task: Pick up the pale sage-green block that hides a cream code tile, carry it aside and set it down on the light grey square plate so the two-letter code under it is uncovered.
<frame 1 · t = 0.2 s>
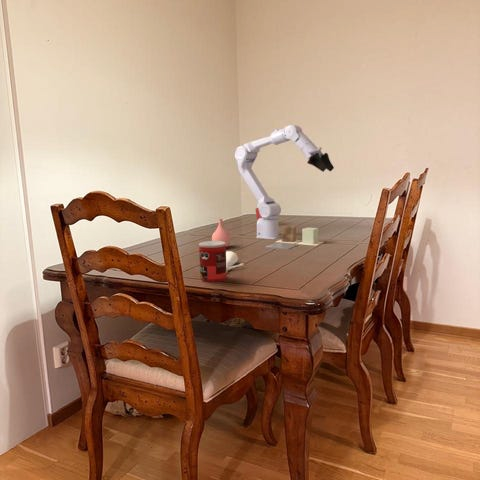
hand: (328, 169, 179), 30 cm above the table, tool tilted 45°, fingers open, 7 cm apart
flower pot: (265, 226, 235), on the table
sage block: (310, 242, 184), resting on code tile
canned food: (213, 279, 132), on the table
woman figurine: (226, 268, 146), on the table
light grey square plate: (282, 247, 178), on the table
plain tile: (288, 241, 189), on the table
code tile: (310, 243, 184), on the table
perfume bottle: (221, 248, 179), on the table
walnut block: (288, 240, 189), resting on plain tile
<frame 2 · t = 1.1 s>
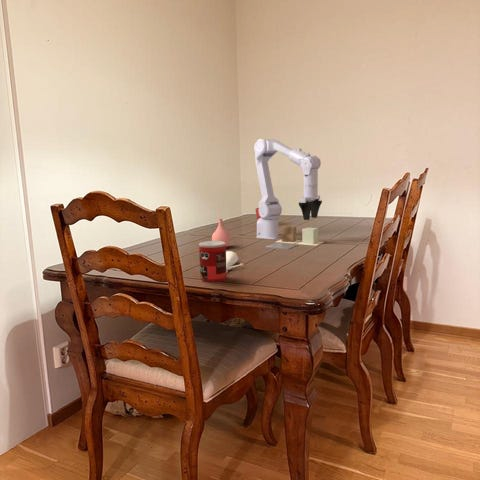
hand: (310, 218, 182), 10 cm above the table, tool pointing down, fingers open, 7 cm apart
nothing on the table moved.
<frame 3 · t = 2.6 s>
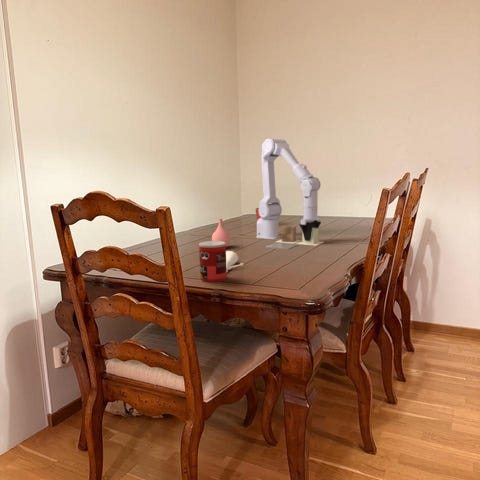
hand: (310, 239, 183), 2 cm above the table, tool pointing down, fingers closed on sage block, 5 cm apart
sage block: (310, 242, 184), resting on code tile, touching gripper
everything else where it was.
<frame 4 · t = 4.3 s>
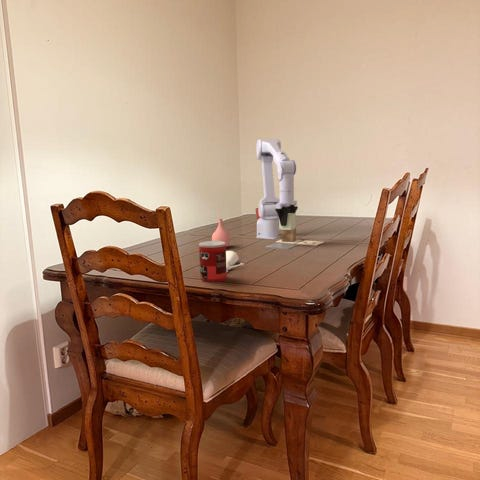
hand: (286, 224, 177), 9 cm above the table, tool pointing down, fingers closed on sage block, 5 cm apart
sage block: (287, 228, 177), point 7 cm above the table, touching gripper
everything else where it was.
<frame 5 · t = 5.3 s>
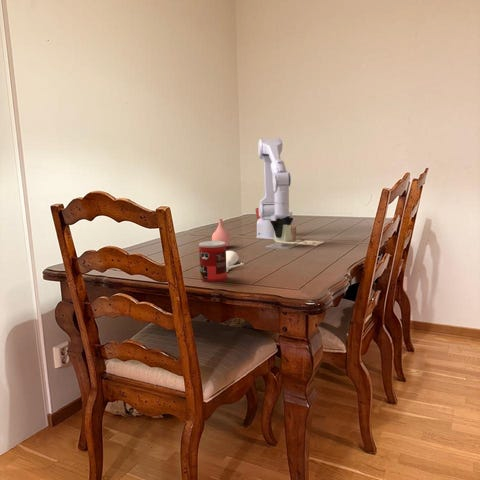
hand: (281, 236, 177), 4 cm above the table, tool pointing down, fingers closed on sage block, 5 cm apart
sage block: (282, 240, 177), point 3 cm above the table, touching gripper
everything else where it was.
when the fingers open (3 cm above the table, at t = 6.0 s): sage block drops 1 cm, resting on light grey square plate.
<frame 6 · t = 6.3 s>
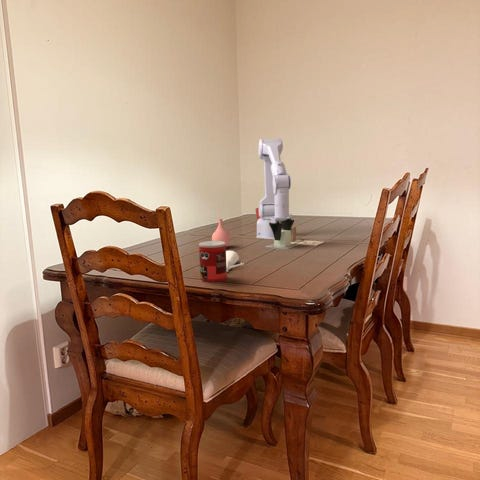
hand: (281, 238, 177), 3 cm above the table, tool pointing down, fingers open, 7 cm apart
sage block: (282, 245, 177), point 1 cm above the table, touching light grey square plate
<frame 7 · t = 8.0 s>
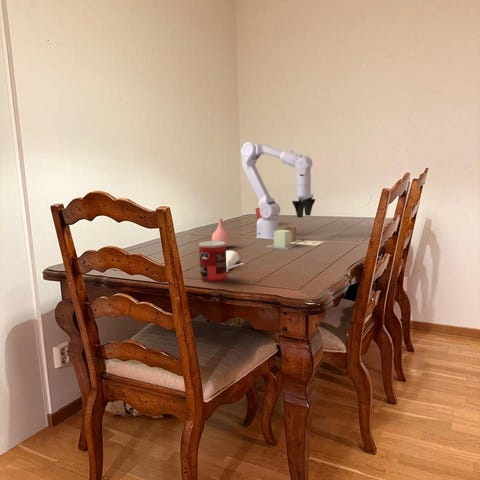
hand: (303, 216, 191), 10 cm above the table, tool pointing down, fingers open, 7 cm apart
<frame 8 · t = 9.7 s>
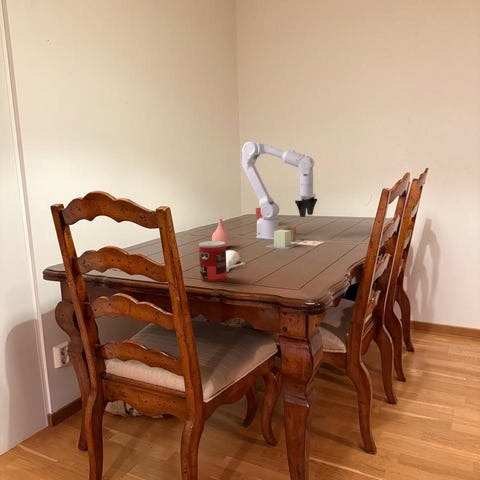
hand: (306, 215, 193), 10 cm above the table, tool pointing down, fingers open, 7 cm apart
at the end: sage block inside the target area on the light grey square plate (0.2 cm from its centre), point 0.6 cm above the light grey square plate's base; sage block tilted 0°; the gripper is holding nothing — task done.
